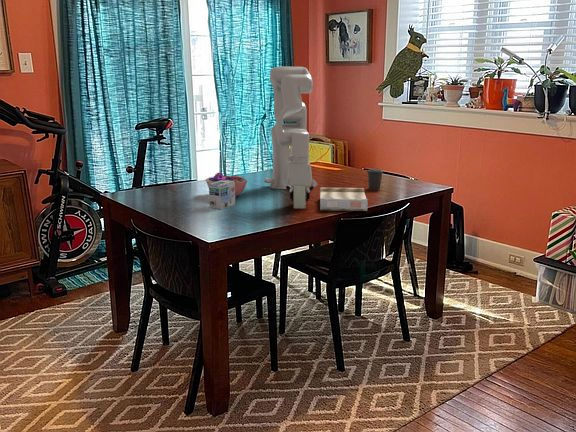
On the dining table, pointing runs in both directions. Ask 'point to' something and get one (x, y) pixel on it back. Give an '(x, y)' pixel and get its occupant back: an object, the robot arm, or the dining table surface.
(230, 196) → the light bulb box
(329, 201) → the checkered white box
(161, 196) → the dining table surface
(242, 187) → the cell model
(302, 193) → the product box
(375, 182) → the coffee cup
